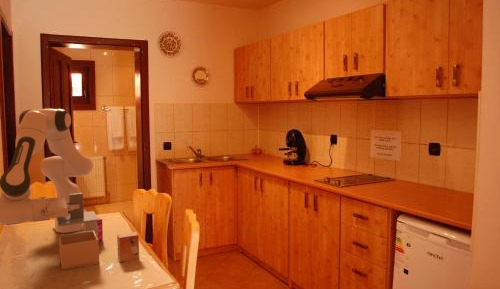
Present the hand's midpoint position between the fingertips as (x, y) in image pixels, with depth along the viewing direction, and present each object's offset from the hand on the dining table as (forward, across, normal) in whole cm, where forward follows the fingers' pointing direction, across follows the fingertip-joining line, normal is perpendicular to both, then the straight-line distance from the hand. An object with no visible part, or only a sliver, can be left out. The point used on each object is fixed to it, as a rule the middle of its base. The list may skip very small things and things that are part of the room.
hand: (78, 205), depth 167 cm
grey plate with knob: (-1, 0, +6) cm, 6 cm away
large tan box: (-1, 0, +24) cm, 24 cm away
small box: (+18, -8, +24) cm, 31 cm away
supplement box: (+8, +19, +24) cm, 32 cm away
